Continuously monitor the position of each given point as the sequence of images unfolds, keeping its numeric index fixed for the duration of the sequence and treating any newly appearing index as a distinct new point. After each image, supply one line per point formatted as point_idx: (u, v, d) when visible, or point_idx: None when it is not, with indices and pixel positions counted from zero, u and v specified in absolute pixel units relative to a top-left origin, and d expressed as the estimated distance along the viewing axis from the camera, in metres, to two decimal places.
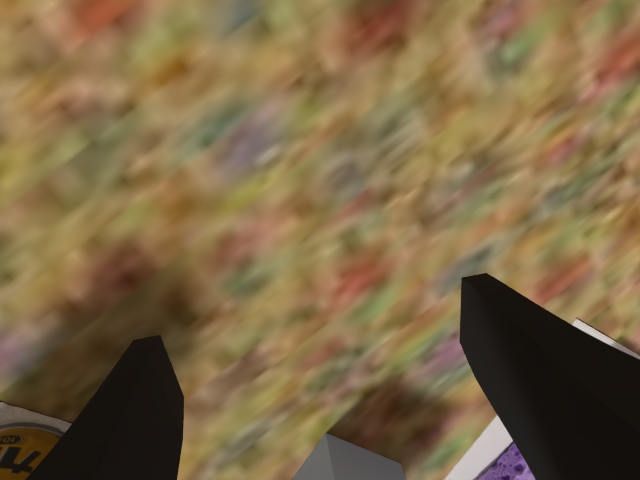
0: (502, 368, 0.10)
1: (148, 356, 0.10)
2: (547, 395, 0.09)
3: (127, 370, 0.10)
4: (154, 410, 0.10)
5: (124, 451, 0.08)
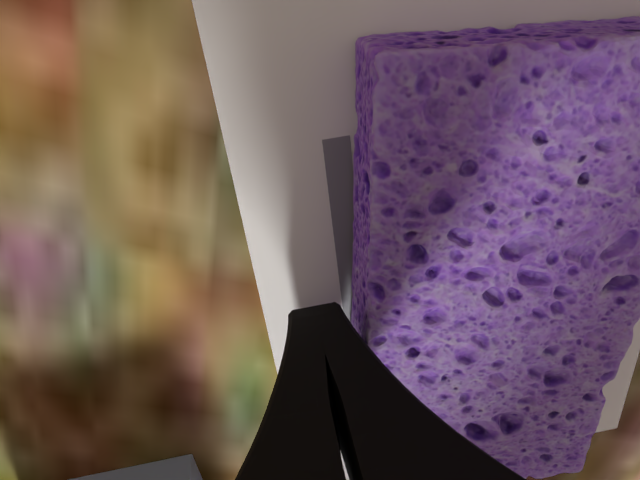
0: (332, 403, 0.10)
1: (320, 323, 0.10)
2: (347, 437, 0.08)
3: (306, 335, 0.10)
4: None
5: (331, 409, 0.09)
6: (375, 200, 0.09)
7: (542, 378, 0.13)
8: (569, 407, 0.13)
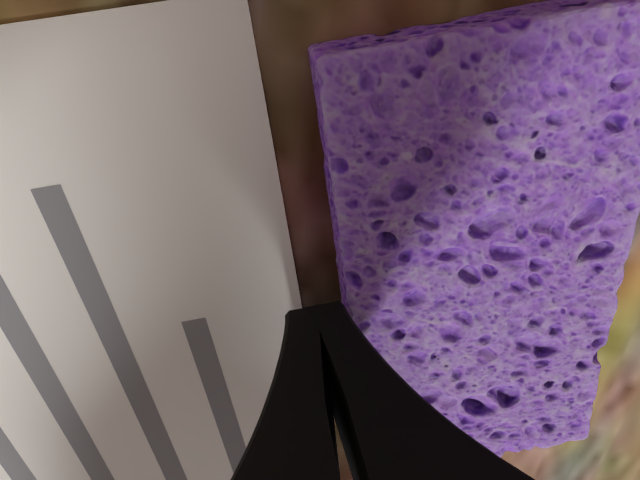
0: (336, 402, 0.10)
1: (317, 324, 0.10)
2: (352, 436, 0.08)
3: (303, 336, 0.10)
4: (325, 376, 0.10)
5: (327, 410, 0.09)
6: (338, 194, 0.10)
7: (531, 349, 0.13)
8: (564, 376, 0.13)
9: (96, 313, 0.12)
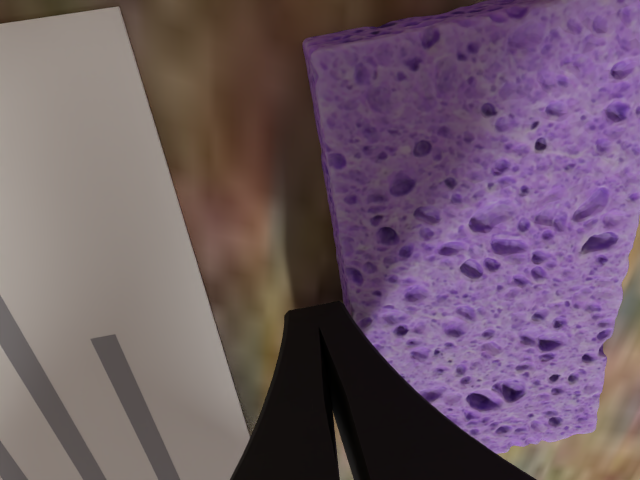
0: (337, 402, 0.10)
1: (316, 324, 0.10)
2: (352, 436, 0.08)
3: (302, 336, 0.10)
4: (325, 376, 0.10)
5: (326, 410, 0.09)
6: (336, 190, 0.10)
7: (536, 343, 0.13)
8: (570, 369, 0.13)
9: (1, 331, 0.12)
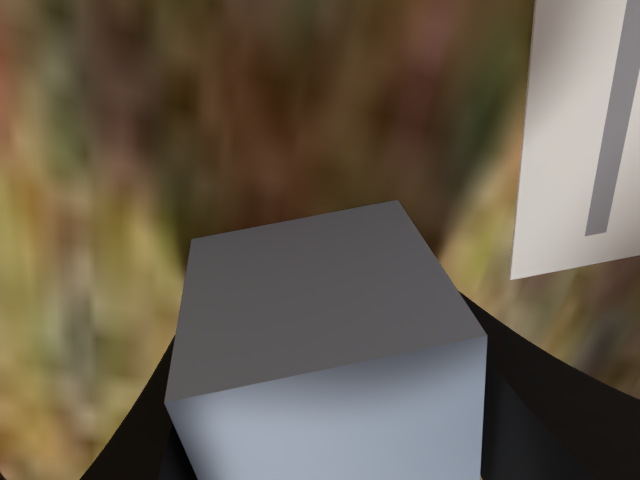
0: None
1: None
2: (493, 406, 0.09)
3: None
4: None
5: None
6: None
7: None
8: None
9: None
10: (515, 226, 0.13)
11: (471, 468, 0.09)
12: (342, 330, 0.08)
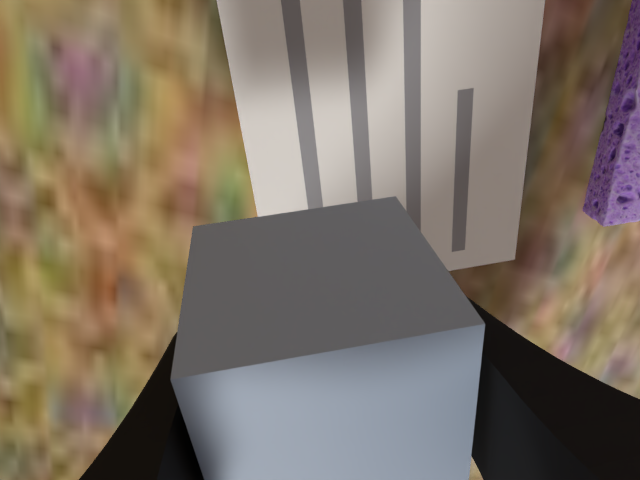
0: None
1: None
2: (493, 406, 0.09)
3: None
4: None
5: (181, 439, 0.08)
6: None
7: None
8: None
9: (406, 79, 0.17)
10: None
11: (462, 456, 0.09)
12: (346, 315, 0.08)
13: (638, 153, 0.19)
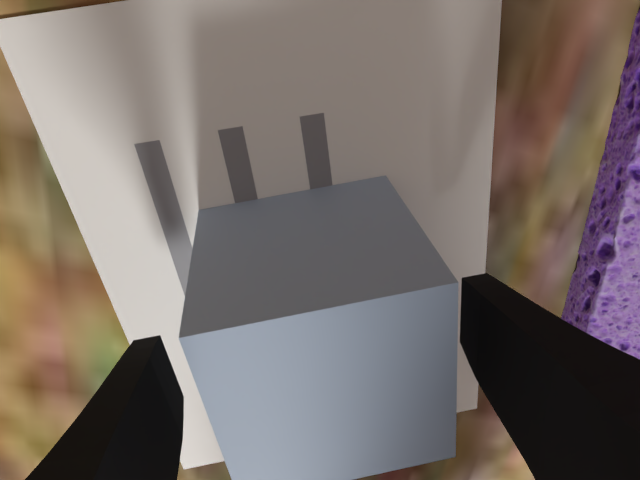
0: (502, 368, 0.10)
1: (148, 356, 0.10)
2: (547, 395, 0.09)
3: (127, 370, 0.10)
4: (154, 410, 0.10)
5: (124, 451, 0.08)
6: None
7: None
8: None
9: None
10: None
11: (448, 408, 0.10)
12: (334, 280, 0.09)
13: (619, 305, 0.15)
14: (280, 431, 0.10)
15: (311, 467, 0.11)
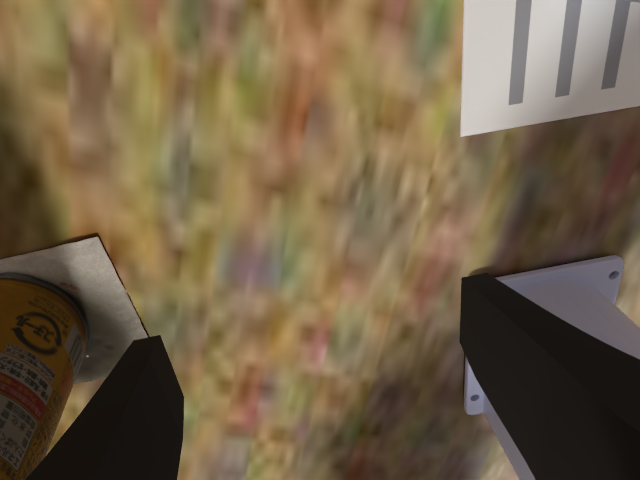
0: (502, 368, 0.10)
1: (148, 356, 0.10)
2: (547, 395, 0.09)
3: (127, 370, 0.10)
4: (154, 410, 0.10)
5: (124, 451, 0.08)
6: None
7: None
8: None
9: None
10: (461, 95, 0.20)
11: None
12: None
13: None
14: None
15: None
